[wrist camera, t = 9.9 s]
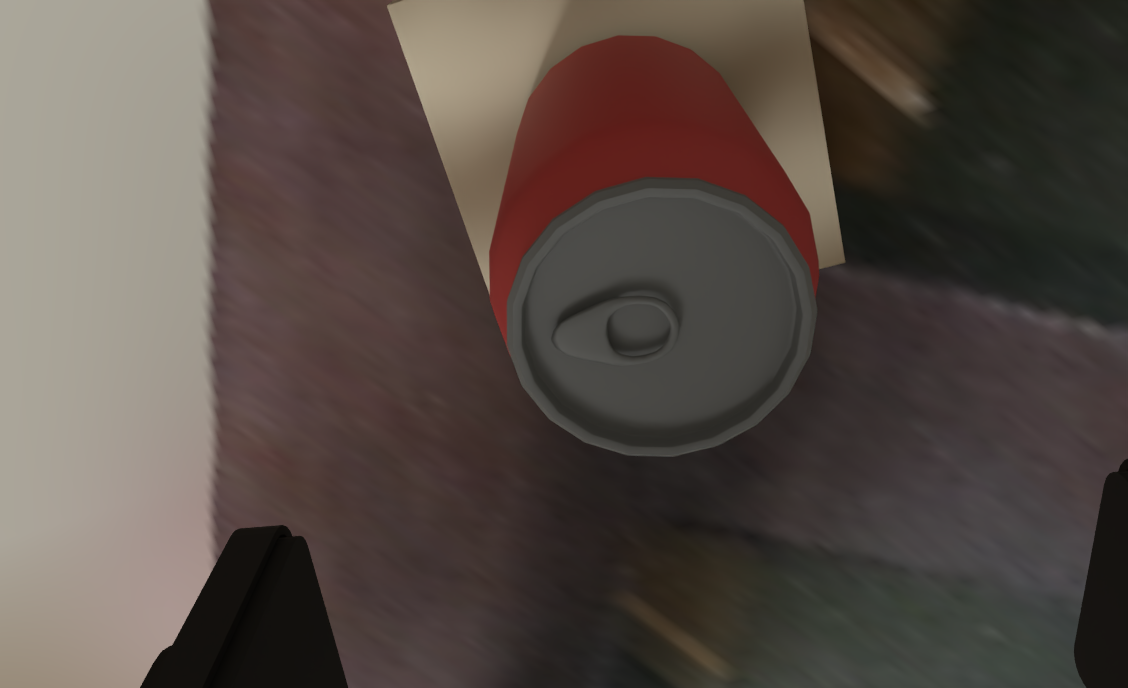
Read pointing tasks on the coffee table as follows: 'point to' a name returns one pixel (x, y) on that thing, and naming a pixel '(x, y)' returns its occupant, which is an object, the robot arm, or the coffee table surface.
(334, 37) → the coffee table surface
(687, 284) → the beer can
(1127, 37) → the coffee table surface
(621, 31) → the birch block
